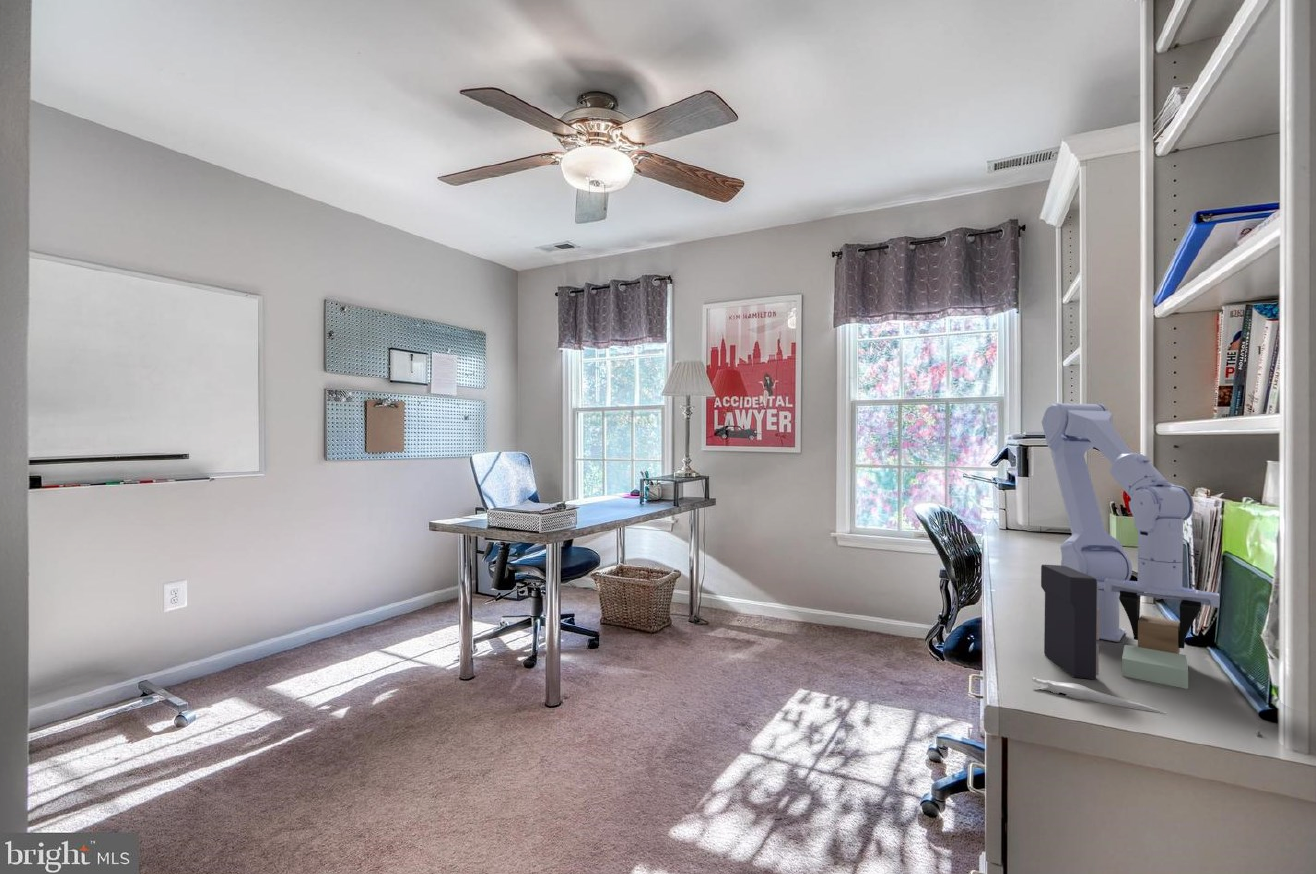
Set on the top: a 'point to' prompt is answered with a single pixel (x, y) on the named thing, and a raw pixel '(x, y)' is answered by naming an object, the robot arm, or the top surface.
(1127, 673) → the block
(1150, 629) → the walnut cube
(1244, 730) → the top surface
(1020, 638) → the top surface
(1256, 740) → the top surface
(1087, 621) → the calculator
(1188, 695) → the top surface
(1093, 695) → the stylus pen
